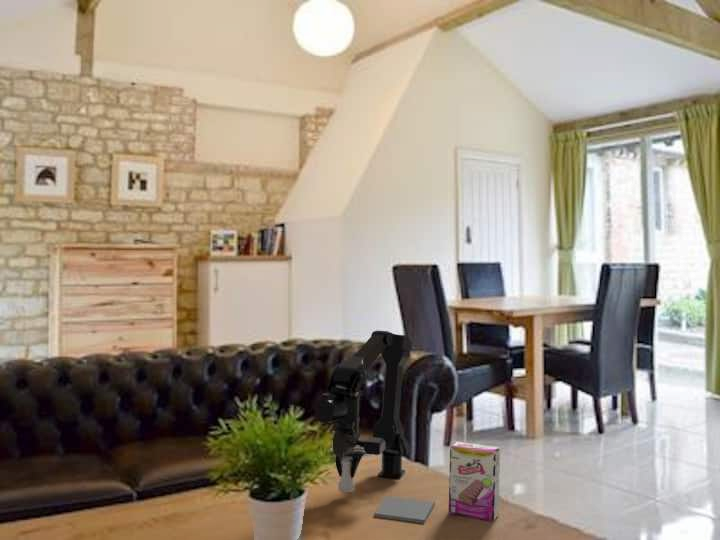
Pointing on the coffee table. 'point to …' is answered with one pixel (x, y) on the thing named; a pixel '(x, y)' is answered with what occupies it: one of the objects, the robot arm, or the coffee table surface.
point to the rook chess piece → (346, 476)
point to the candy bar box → (474, 481)
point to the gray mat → (405, 509)
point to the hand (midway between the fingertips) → (346, 476)
